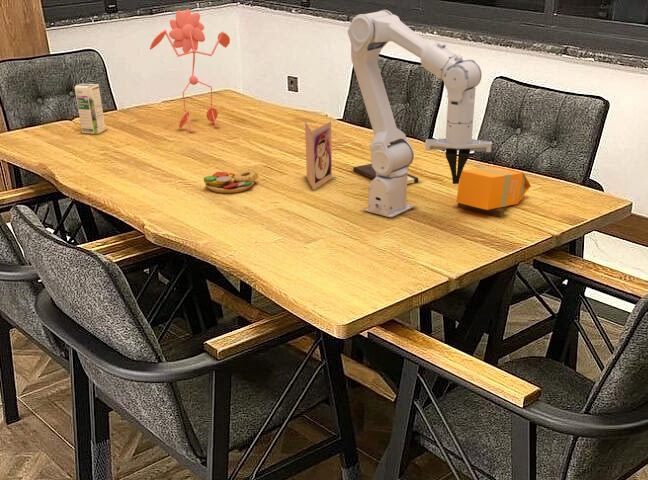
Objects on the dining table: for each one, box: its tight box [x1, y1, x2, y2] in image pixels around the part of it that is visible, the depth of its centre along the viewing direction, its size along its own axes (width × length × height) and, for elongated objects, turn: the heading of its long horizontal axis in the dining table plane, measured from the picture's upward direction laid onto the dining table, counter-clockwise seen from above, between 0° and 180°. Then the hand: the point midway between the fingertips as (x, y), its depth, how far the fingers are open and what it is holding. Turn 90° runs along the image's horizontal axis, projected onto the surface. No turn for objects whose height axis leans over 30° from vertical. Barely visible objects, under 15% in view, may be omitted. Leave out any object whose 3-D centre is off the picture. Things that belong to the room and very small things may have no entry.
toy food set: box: [203, 169, 259, 194], centre depth 220 cm, size 13×13×3 cm
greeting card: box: [304, 120, 333, 191], centre depth 218 cm, size 11×7×15 cm, turn 155°
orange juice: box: [455, 165, 532, 210], centre depth 204 cm, size 8×9×20 cm
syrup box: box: [74, 83, 107, 135], centre depth 267 cm, size 6×6×14 cm
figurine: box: [149, 8, 234, 133], centre depth 266 cm, size 15×26×35 cm, turn 125°
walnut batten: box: [457, 203, 506, 218], centre depth 202 cm, size 2×12×2 cm, turn 50°
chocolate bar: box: [353, 163, 419, 185], centre depth 226 cm, size 9×1×18 cm
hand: (455, 182), depth 189 cm, fingers closed
